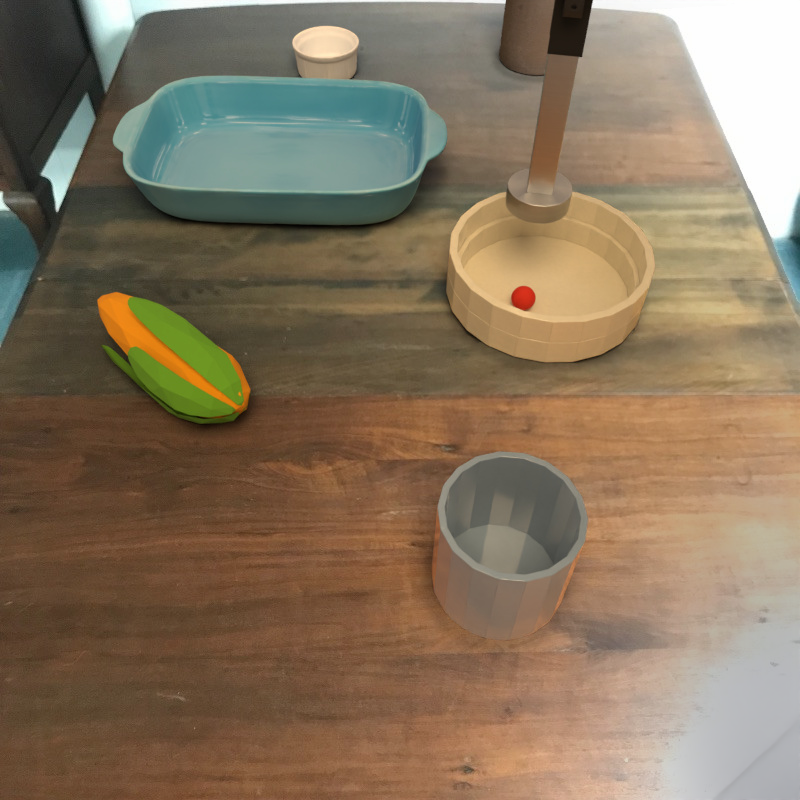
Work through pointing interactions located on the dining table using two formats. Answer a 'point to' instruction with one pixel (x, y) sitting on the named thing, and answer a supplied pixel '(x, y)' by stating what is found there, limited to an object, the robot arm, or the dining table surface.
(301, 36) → the ramekin
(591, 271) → the bowl
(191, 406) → the corn
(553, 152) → the silver disc tamper
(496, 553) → the crock
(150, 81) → the dining table surface
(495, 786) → the dining table surface
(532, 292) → the cherry tomato
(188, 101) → the casserole dish
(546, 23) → the pillar candle
